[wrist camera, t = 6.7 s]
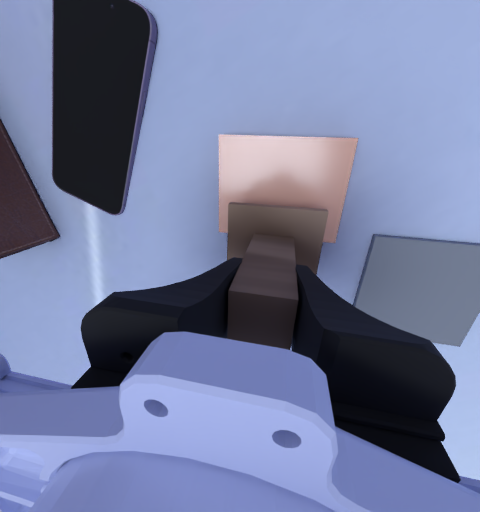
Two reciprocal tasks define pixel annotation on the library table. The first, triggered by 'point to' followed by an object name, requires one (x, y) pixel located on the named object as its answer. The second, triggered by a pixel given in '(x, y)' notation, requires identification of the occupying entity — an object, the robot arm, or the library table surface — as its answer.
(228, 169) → the tile
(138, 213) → the library table surface
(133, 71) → the smartphone
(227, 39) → the library table surface
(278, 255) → the stamp
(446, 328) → the mat
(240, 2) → the library table surface
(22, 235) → the letter holder
